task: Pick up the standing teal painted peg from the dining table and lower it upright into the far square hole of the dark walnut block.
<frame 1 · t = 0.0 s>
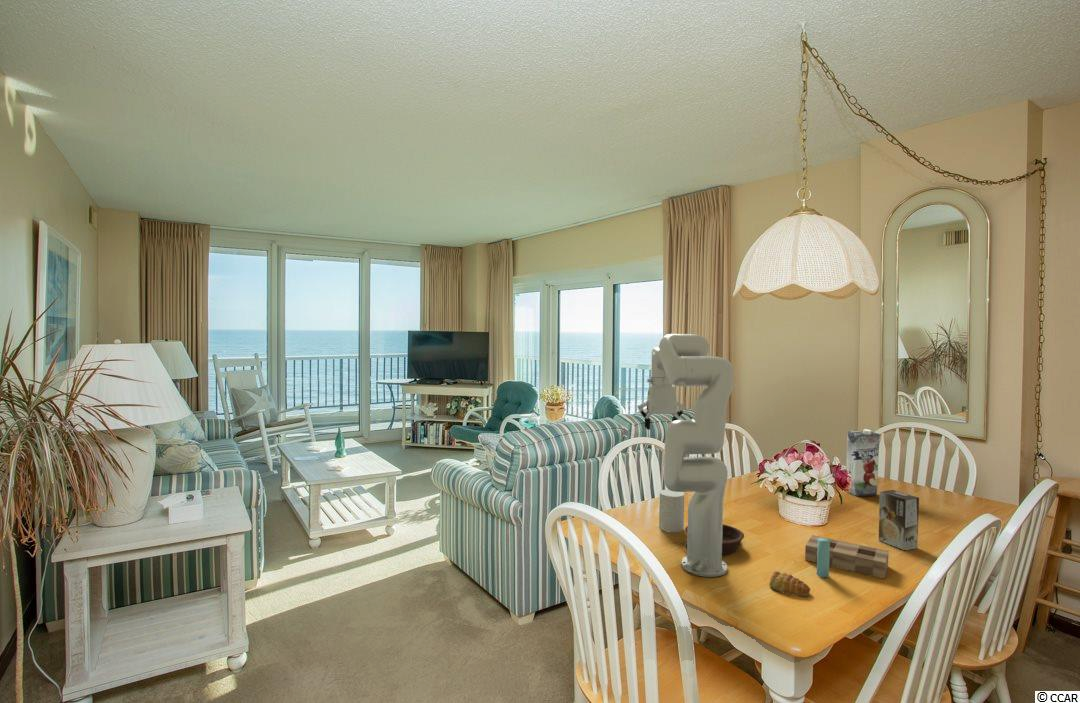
hand: (661, 429, 202), 31 cm above the table, tool pointing down, fingers open, 9 cm apart
coffee box: (897, 545, 176), on the table
juice carton: (861, 494, 229), on the table
dish: (713, 547, 174), on the table
peg: (822, 575, 154), on the table
pastry: (787, 590, 146), on the table
hole block: (846, 563, 162), on the table
grey cylinder: (671, 528, 189), on the table
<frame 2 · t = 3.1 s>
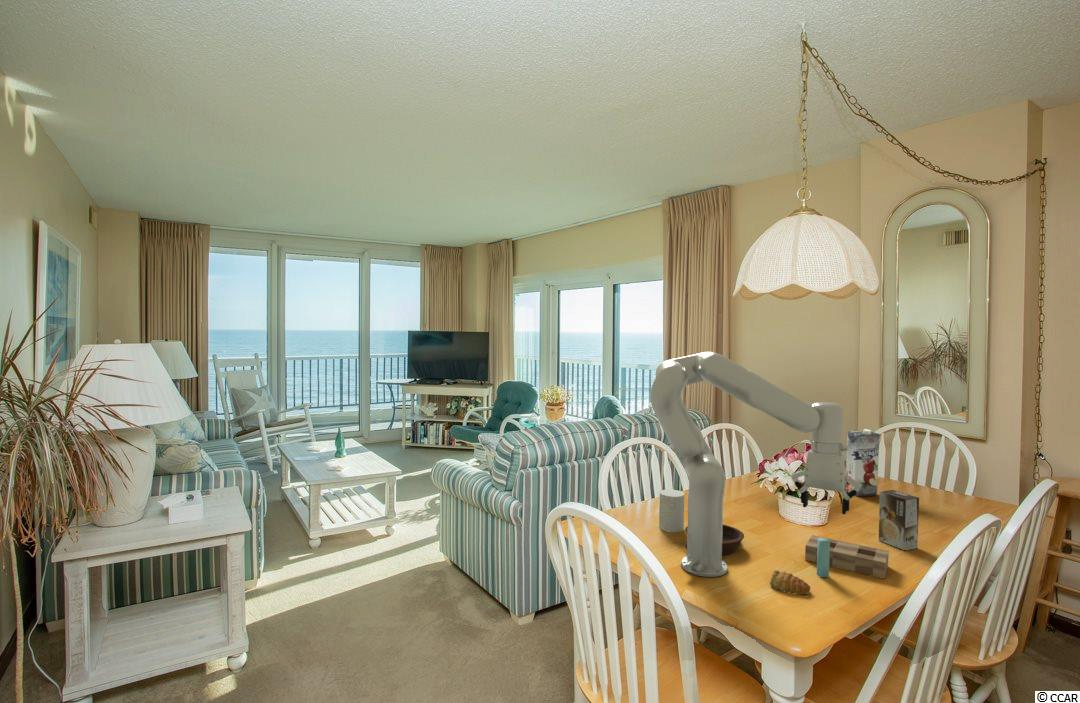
hand: (824, 509, 153), 18 cm above the table, tool pointing down, fingers open, 9 cm apart
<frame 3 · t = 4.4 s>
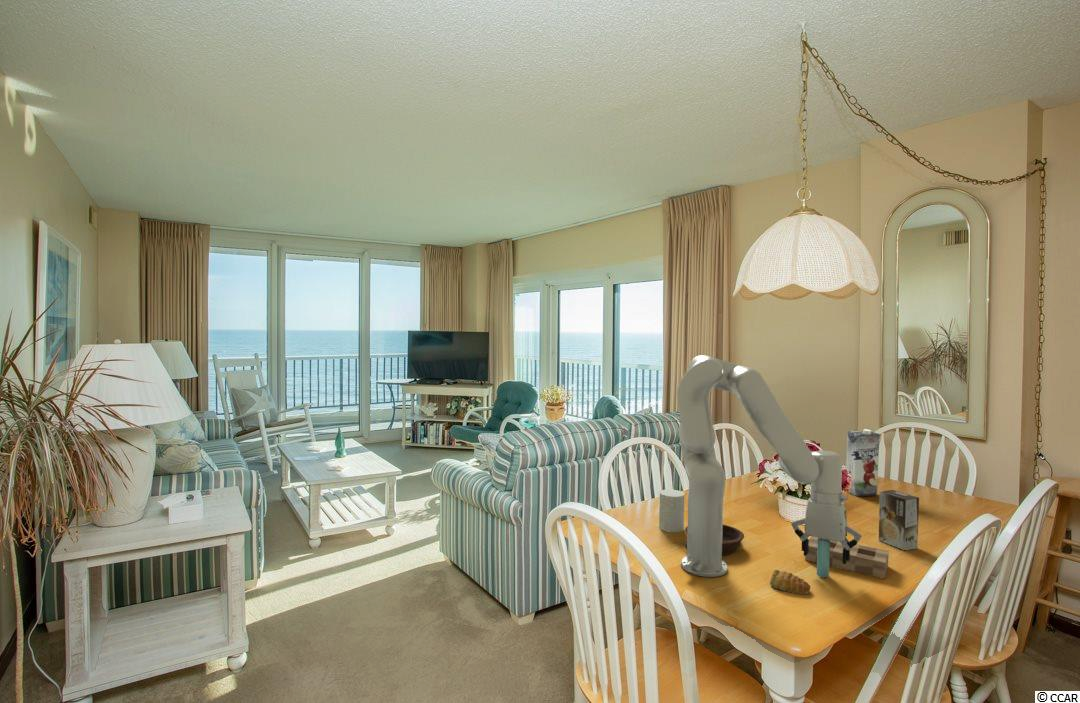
hand: (825, 558, 154), 5 cm above the table, tool pointing down, fingers open, 9 cm apart
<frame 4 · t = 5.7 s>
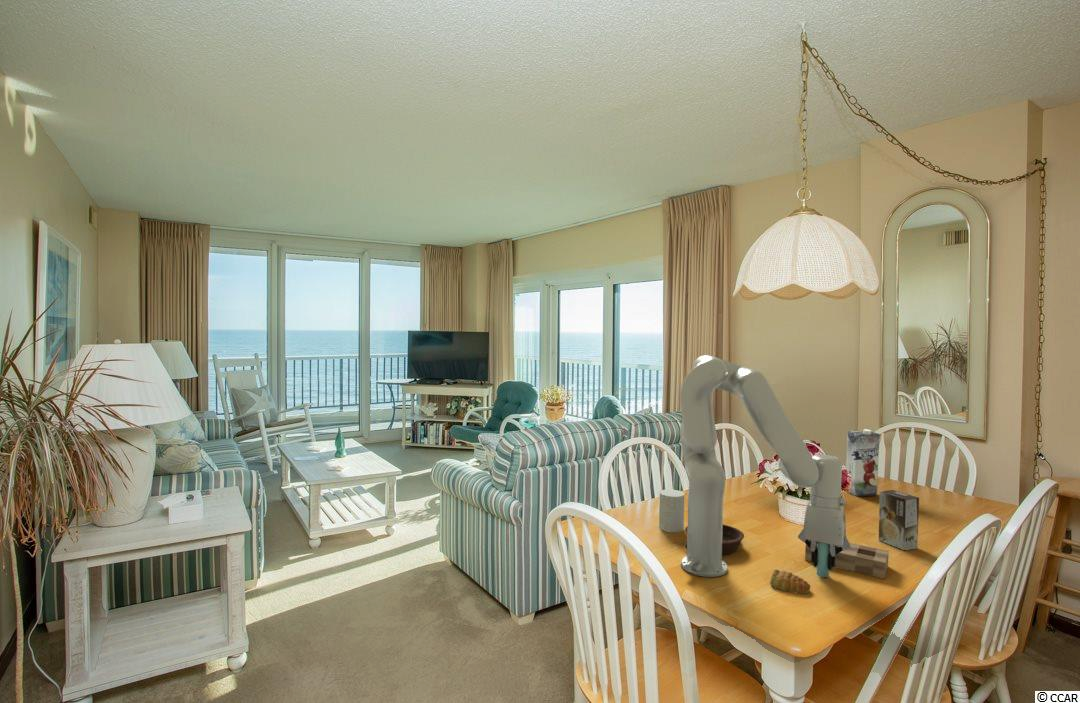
hand: (823, 566, 154), 3 cm above the table, tool pointing down, fingers closed on peg, 3 cm apart
peg: (822, 575, 154), on the table, touching gripper
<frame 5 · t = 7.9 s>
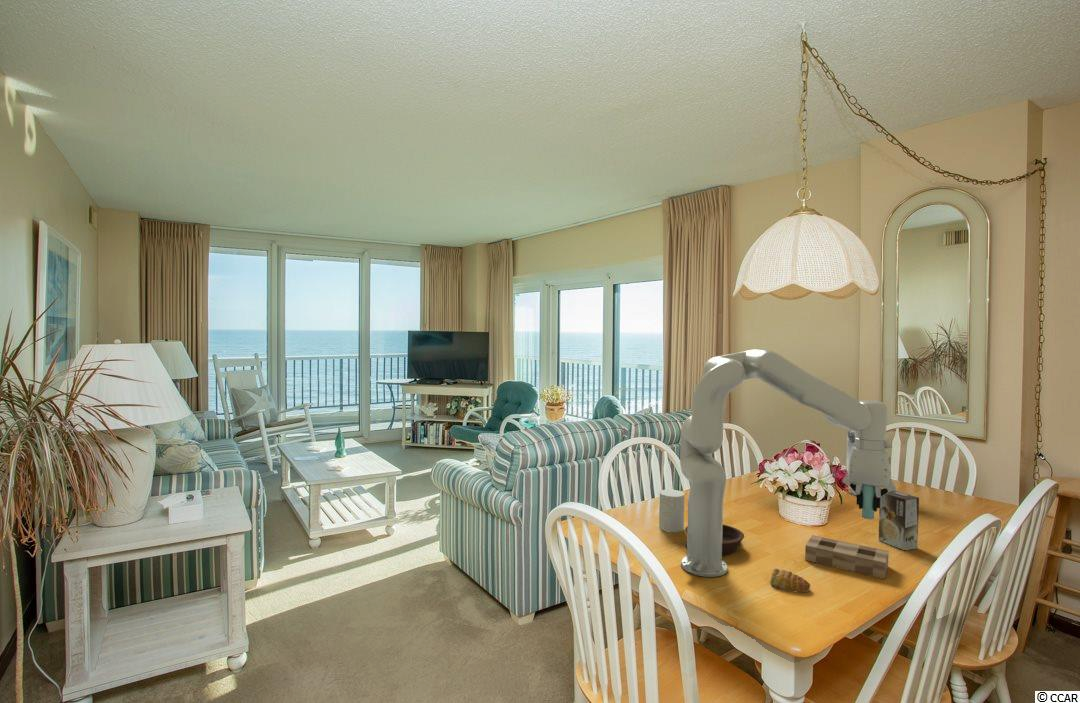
hand: (868, 508, 158), 17 cm above the table, tool pointing down, fingers closed on peg, 3 cm apart
peg: (867, 517, 158), point 15 cm above the table, touching gripper
when the fingers open (5 cm above the table, at t = 10.2 s): peg drops 2 cm, resting in hole block.
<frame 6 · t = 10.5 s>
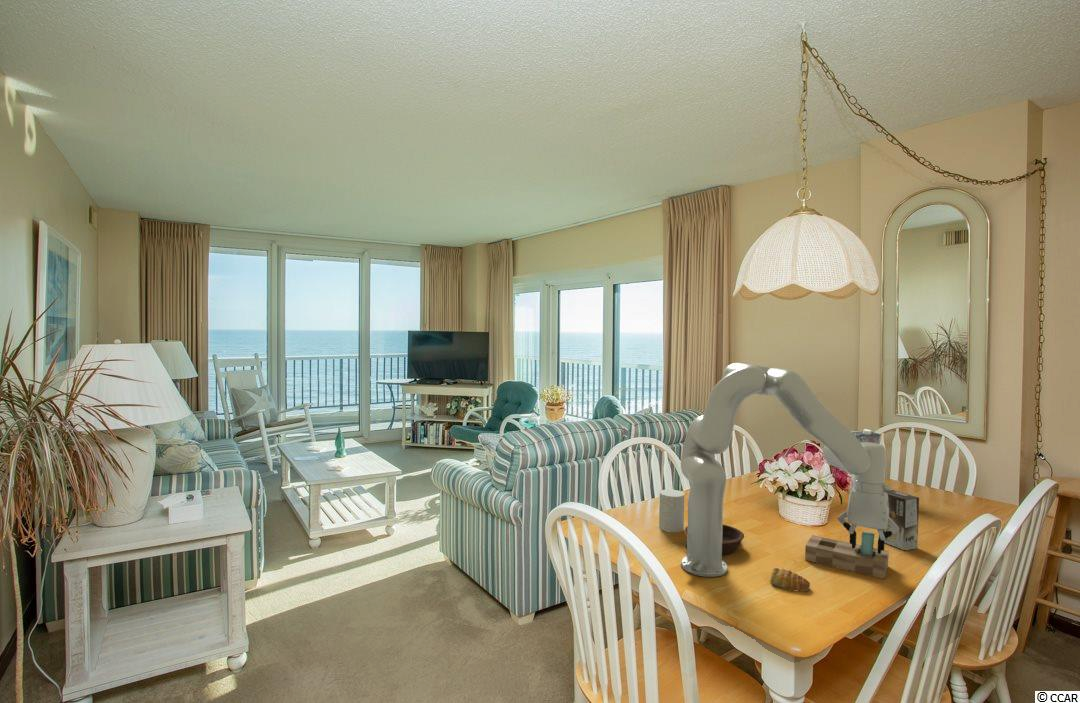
hand: (866, 548, 159), 6 cm above the table, tool pointing down, fingers open, 5 cm apart
peg: (865, 567, 159), resting in hole block
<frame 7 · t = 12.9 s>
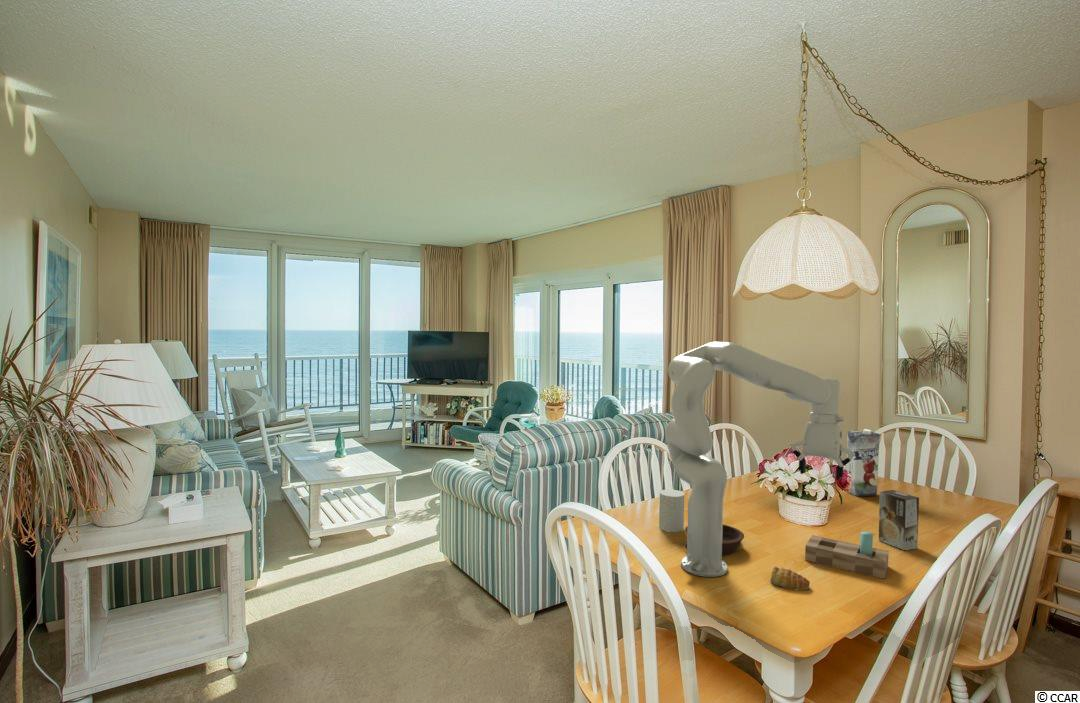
hand: (820, 476, 166), 24 cm above the table, tool pointing down, fingers open, 9 cm apart
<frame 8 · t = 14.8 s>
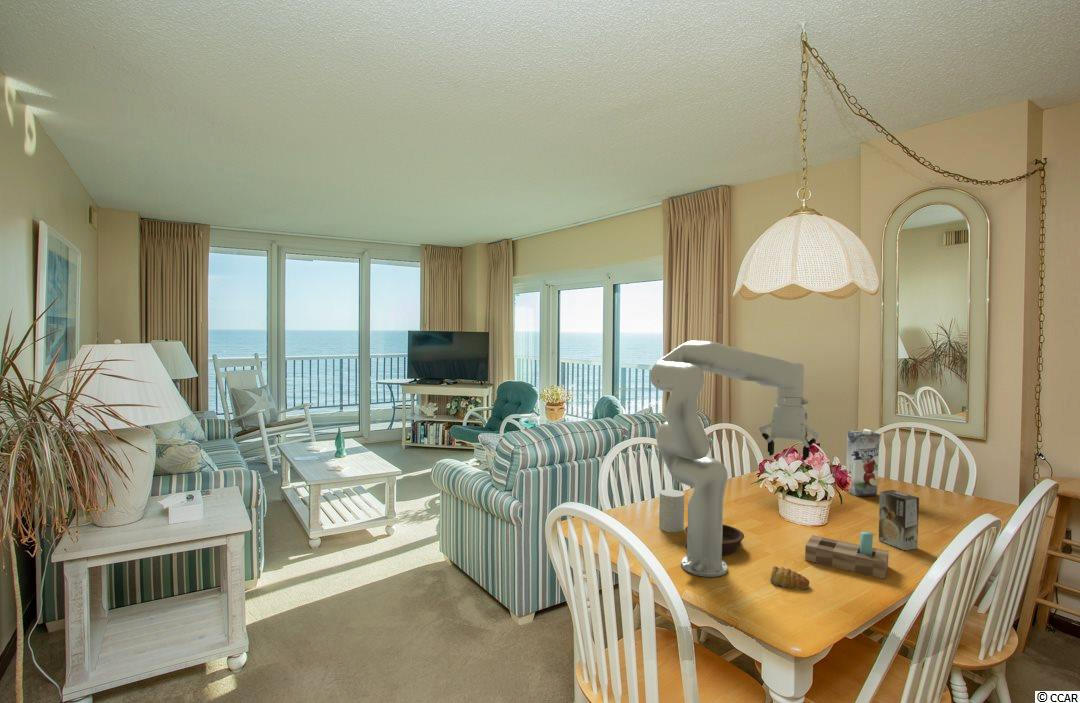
hand: (787, 457, 172), 28 cm above the table, tool pointing down, fingers open, 9 cm apart
at the end: peg 0.1 cm from the target spot on the hole block, point 0.0 cm above the hole block's base; peg tilted 0°; the gripper is holding nothing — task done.
